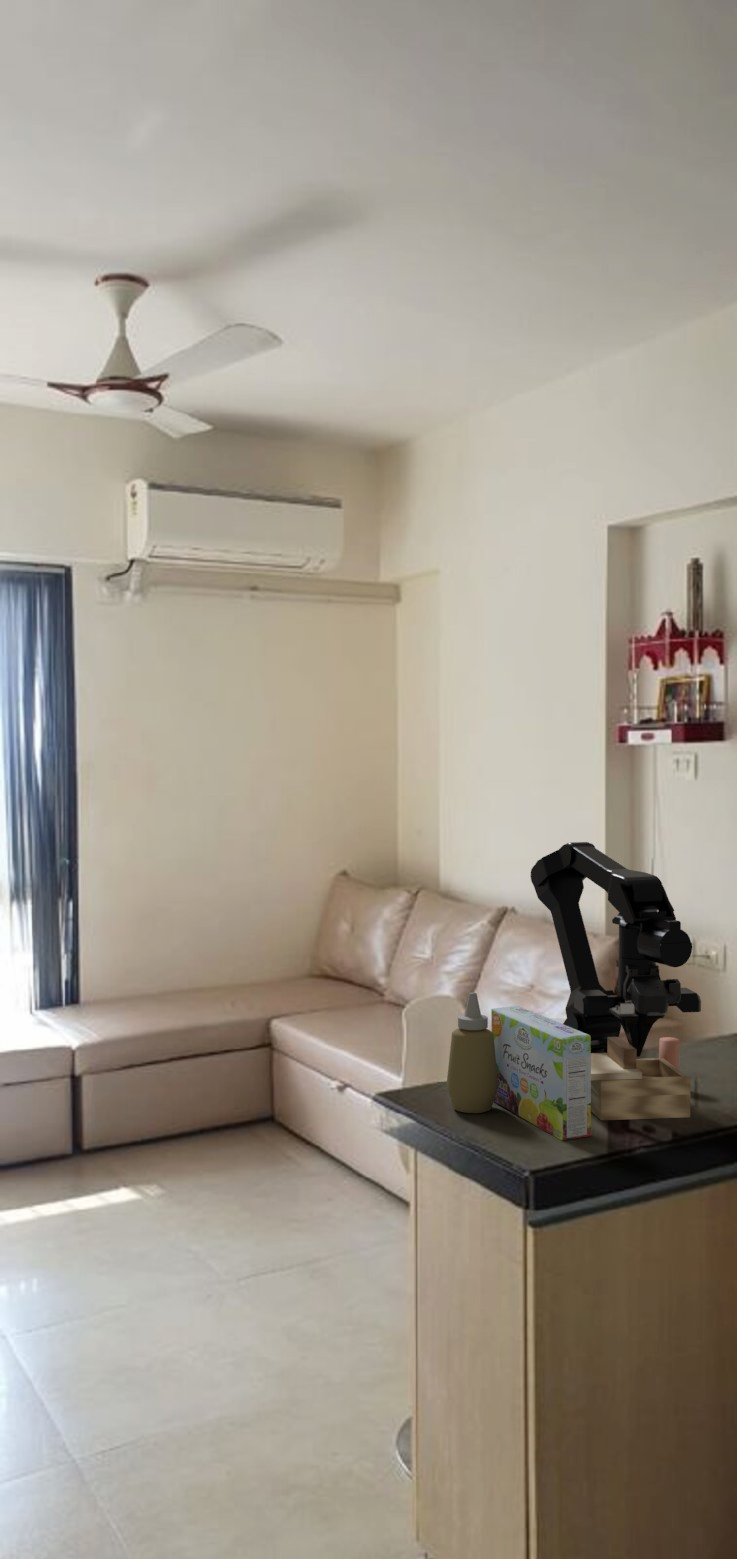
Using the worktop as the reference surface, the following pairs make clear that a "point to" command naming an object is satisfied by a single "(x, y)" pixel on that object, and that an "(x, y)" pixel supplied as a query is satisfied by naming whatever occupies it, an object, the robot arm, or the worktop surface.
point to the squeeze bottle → (472, 1062)
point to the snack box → (543, 1071)
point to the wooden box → (643, 1093)
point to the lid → (615, 1061)
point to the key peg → (669, 1050)
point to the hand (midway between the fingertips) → (636, 1056)
